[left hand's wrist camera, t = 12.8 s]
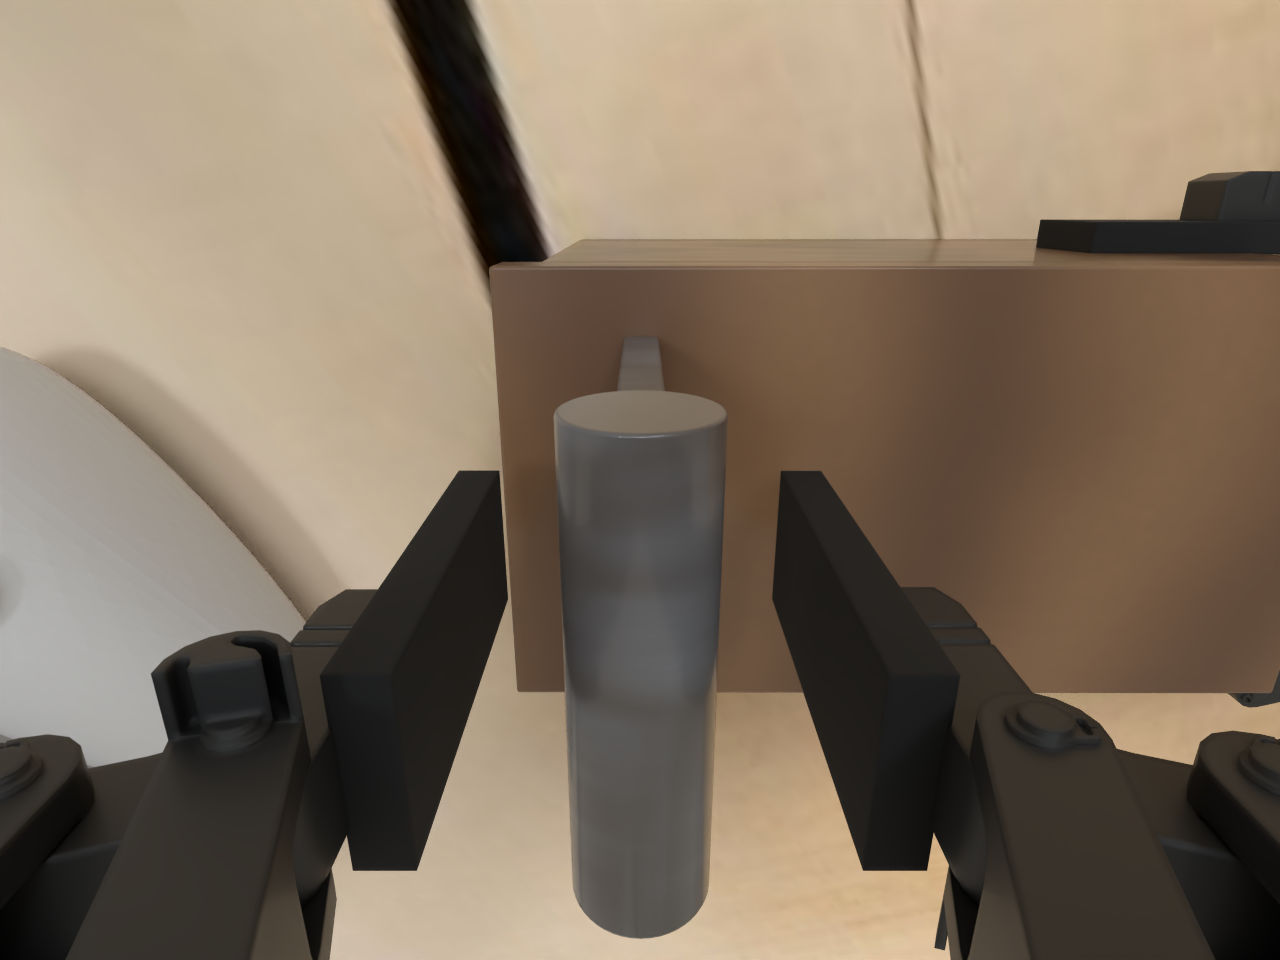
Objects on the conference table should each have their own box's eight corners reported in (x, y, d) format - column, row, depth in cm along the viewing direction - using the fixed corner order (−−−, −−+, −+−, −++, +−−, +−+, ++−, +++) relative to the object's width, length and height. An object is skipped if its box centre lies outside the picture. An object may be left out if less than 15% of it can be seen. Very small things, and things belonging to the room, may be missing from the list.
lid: (524, 664, 19) (438, 998, 11) (499, 261, 16) (348, 322, 8) (1234, 664, 19) (1670, 1002, 11) (1362, 261, 16) (2127, 320, 8)
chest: (586, 502, 29) (557, 663, 19) (580, 239, 26) (539, 261, 16) (1025, 502, 29) (1233, 664, 19) (1074, 239, 26) (1360, 261, 16)
